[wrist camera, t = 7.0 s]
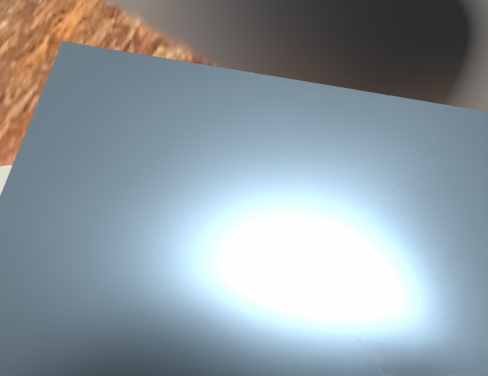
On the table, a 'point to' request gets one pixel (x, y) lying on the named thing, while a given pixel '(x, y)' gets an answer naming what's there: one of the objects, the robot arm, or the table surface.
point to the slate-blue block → (240, 227)
